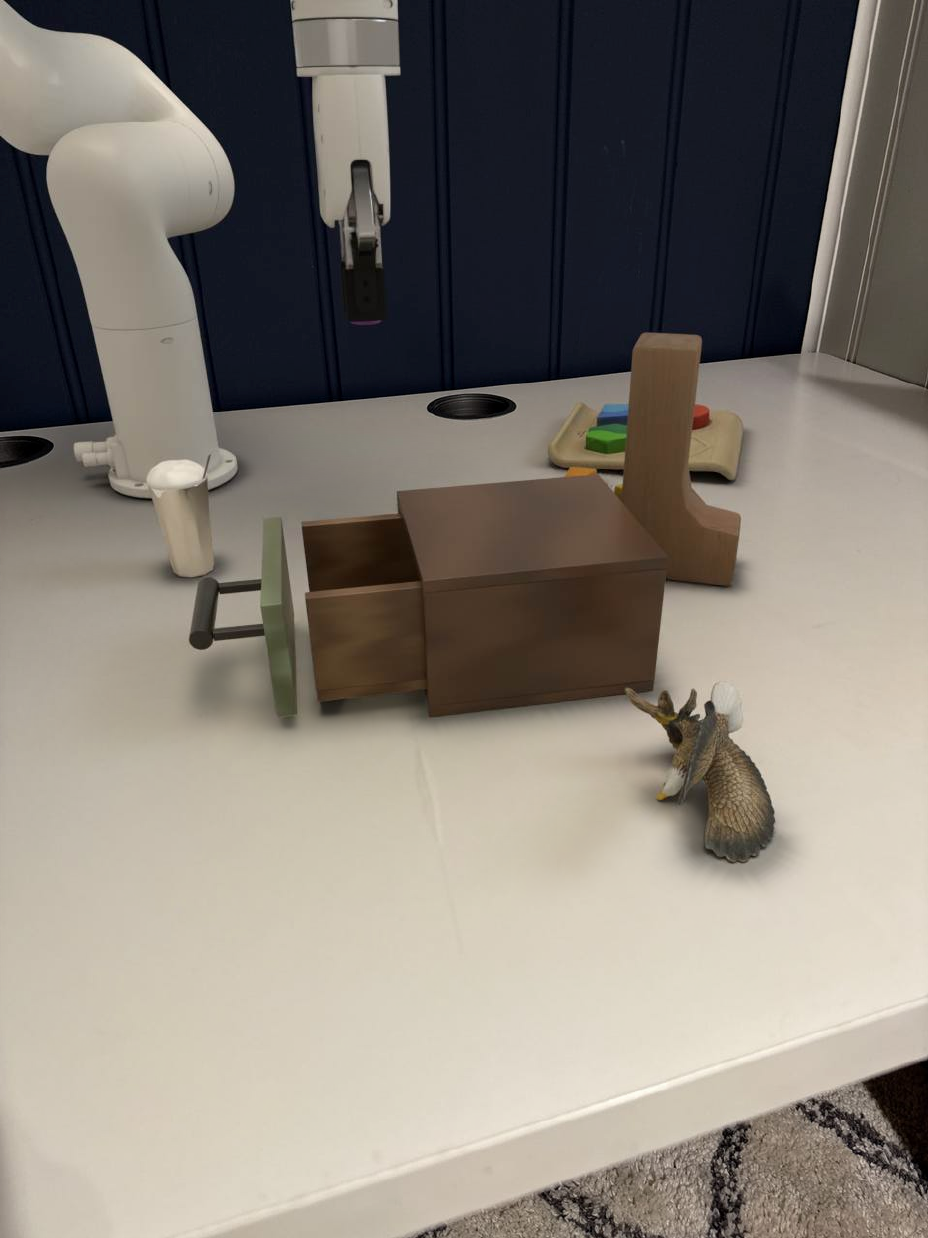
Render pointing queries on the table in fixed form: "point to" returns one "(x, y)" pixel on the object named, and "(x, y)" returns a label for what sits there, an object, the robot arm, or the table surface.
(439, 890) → the table surface
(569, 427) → the shape puzzle
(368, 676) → the drawer
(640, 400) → the wooden block
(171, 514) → the milkshake
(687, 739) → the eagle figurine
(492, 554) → the cabinet
